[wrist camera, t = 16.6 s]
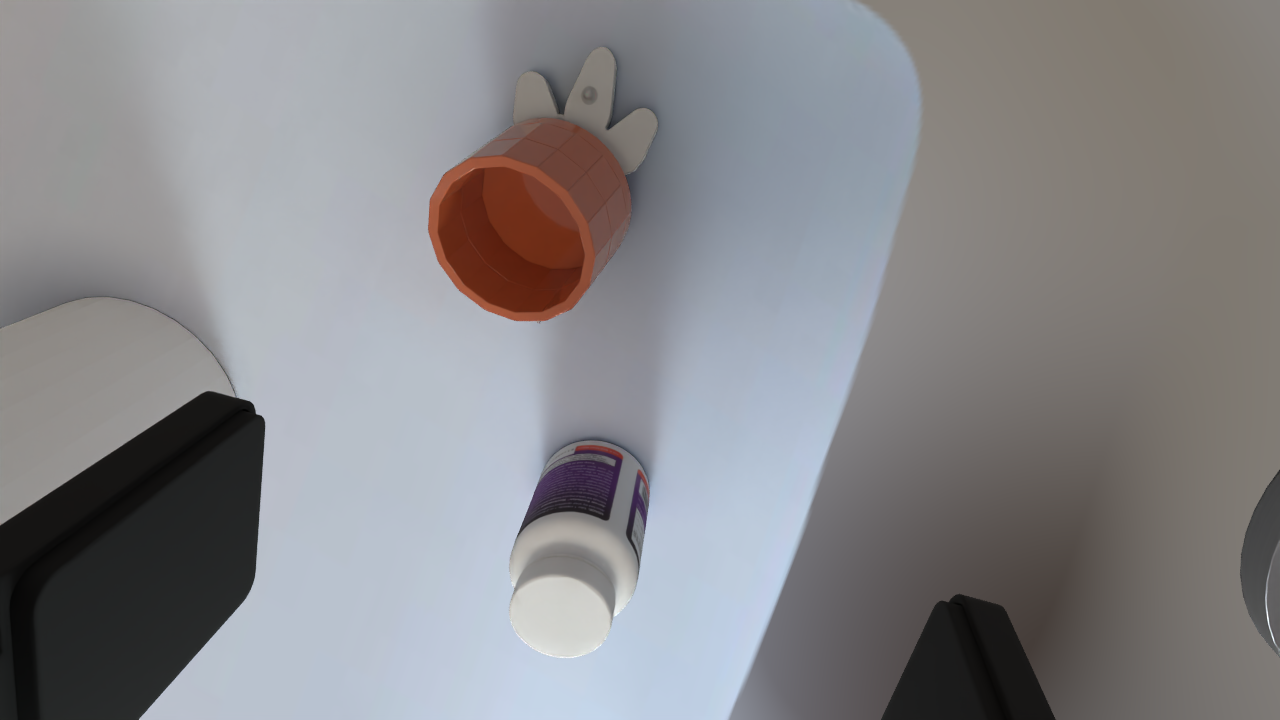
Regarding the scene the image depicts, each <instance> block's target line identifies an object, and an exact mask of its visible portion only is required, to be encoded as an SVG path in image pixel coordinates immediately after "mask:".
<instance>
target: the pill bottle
mask: <svg viewBox="0 0 1280 720" xmlns="http://www.w3.org/2000/svg"><path fill="white" fill-rule="evenodd" d="M649 494H650V490H649V483H648V479H647V476H646V474H645V472H644V470H643V468H642V466H641V465H640V464H639V462H638V461H637V460H636V459H635V458H634V457H633V456H632V455H631V454H630V453H628V452H627V451H625V450H624V449H622V448H620V447H618V446H616V445H613V444H610V443H607V442H602V441H594V440H589V441H580V442H576V443H573V444H570V445H568V446H566V447H564V448H562V449H561V450H559V451H558V452H557V453H556V454H555V455H553V456H552V458H551V459H550V460H549V461H548V463H547V464H546V466H545V468H544V470H543V472H542V474H541V476H540V479H539V482H538V484H537V487H536V490H535V492H534V495H533V498H532V500H531V503H530V505H529V508H528V510H527V513H526V516H525V518H524V521H523V523H522V526H521V528H520V530H519V533H518V535H517V538H516V540H515V543H514V546H513V549H512V552H511V556H510V564H509V571H510V578H511V582H512V585H513V587H514V592H513V595H512V598H511V601H510V607H509V615H510V621H511V624H512V627H513V629H514V630H515V632H516V633H517V635H518V636H519V637H520V638H521V639H522V640H523V642H524V643H526V644H527V645H528V646H530V647H531V648H533V649H534V650H536V651H538V652H540V653H543V654H545V655H548V656H553V657H558V658H574V657H579V656H583V655H586V654H588V653H590V652H592V651H594V650H595V649H597V648H598V647H599V646H600V645H601V644H602V643H603V642H604V641H605V639H606V638H607V636H608V634H609V632H610V629H611V625H612V620H613V617H614V616H616V615H617V614H618V613H620V612H621V611H622V610H623V609H624V608H625V606H626V605H627V604H628V602H629V601H630V599H631V598H632V596H633V594H634V591H635V588H636V584H637V580H638V575H639V568H640V561H641V555H642V548H643V541H644V534H645V527H646V520H647V513H648V506H649Z"/></svg>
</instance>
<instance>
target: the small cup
mask: <svg viewBox="0 0 1280 720" xmlns="http://www.w3.org/2000/svg"><path fill="white" fill-rule="evenodd" d="M630 219H631V195H630V190H629V186H628V182H627V179H626V177H625V174H624V172H623V170H622V168H621V166H620V164H619V162H618V161H617V159H616V158H615V157H614V155H613V154H612V152H611V151H610V150H609V149H608V148H607V147H606V146H605V145H604V144H603V143H602V142H601V141H600V140H599V139H598V138H597V137H595V136H594V135H593V134H591V133H590V132H588V131H587V130H585V129H583V128H581V127H580V126H578V125H575V124H573V123H570V122H567V121H564V120H560V119H554V118H534V119H528V120H525V121H522V122H519V123H517V124H515V125H513V126H511V127H509V128H508V129H506V130H505V131H504V132H502V133H501V134H499V135H498V136H496V137H495V138H493V139H491V140H490V141H488V142H487V143H486V144H484V145H483V146H482V147H480V148H479V149H477V150H476V151H475V152H473V153H472V154H471V155H469V156H468V157H466V158H465V159H464V160H462V161H461V162H460V163H458V164H457V165H455V166H454V167H453V168H451V169H450V170H449V171H447V172H446V173H445V174H444V175H443V177H442V179H441V180H440V182H439V184H438V186H437V188H436V189H435V191H434V193H433V195H432V197H431V198H430V206H429V223H428V230H429V231H428V232H429V235H430V238H431V241H432V245H433V248H434V251H435V254H436V257H437V260H438V262H439V264H440V265H441V267H442V268H443V269H444V271H445V272H446V274H447V275H448V276H449V278H450V279H451V280H452V282H453V283H454V285H455V286H456V287H457V289H459V291H461V292H462V293H463V294H465V295H466V296H467V297H468V298H470V299H471V300H472V301H474V302H475V303H476V304H478V305H479V306H480V307H482V308H483V309H484V310H486V311H489V312H492V313H494V314H497V315H500V316H503V317H506V318H508V319H511V320H514V321H546V320H549V319H551V318H553V317H556V316H558V315H560V314H562V313H564V312H567V311H569V310H571V309H572V308H573V307H574V306H575V305H576V303H577V302H578V301H579V300H580V298H581V297H582V296H583V295H584V293H585V292H586V291H587V290H588V288H589V287H590V286H591V284H592V283H593V282H594V280H595V279H596V278H597V276H598V275H599V273H600V272H601V271H602V269H603V268H604V267H605V265H606V264H607V263H608V261H609V260H610V259H611V257H612V256H613V255H614V253H615V252H616V250H617V249H618V248H619V246H620V244H621V243H622V241H623V239H624V237H625V235H626V233H627V231H628V227H629V224H630Z"/></svg>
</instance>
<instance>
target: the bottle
mask: <svg viewBox="0 0 1280 720" xmlns="http://www.w3.org/2000/svg"><path fill="white" fill-rule="evenodd" d="M206 391H213V392H217V393H221V394H224V395H228V396H232V397H235V398H236V396H235V393H234V391H233V389H232V386H231V384H230V382H229V380H228V378H227V376H226V374H225V372H224V371H223V369H222V368H221V366H220V365H219V363H218V362H217V360H216V359H215V357H214V356H213V355H212V353H211V352H210V351H209V350H208V349H207V348H206V347H205V346H204V345H203V344H202V343H201V342H200V341H199V340H198V339H197V337H196V336H194V335H193V334H192V333H191V332H189V331H188V330H187V329H185V328H184V327H183V326H181V325H180V324H179V323H178V322H176V321H175V320H173V319H171V318H169V317H168V316H166V315H164V314H162V313H160V312H159V311H157V310H155V309H153V308H150V307H147V306H144V305H141V304H139V303H136V302H133V301H129V300H123V299H117V298H111V297H90V298H83V299H79V300H75V301H71V302H67V303H65V304H62V305H60V306H57V307H54V308H52V309H49V310H47V311H44V312H42V313H39V314H36V315H34V316H31V317H29V318H26V319H24V320H21V321H19V322H16V323H13V324H11V325H8V326H6V327H3V328H1V329H0V525H1V524H3V523H4V522H6V521H7V520H9V519H11V518H12V517H14V516H15V515H17V514H18V513H20V512H21V511H23V510H24V509H26V508H27V507H29V506H30V505H32V504H33V503H35V502H36V501H38V500H40V499H41V498H43V497H44V496H46V495H47V494H49V493H50V492H52V491H53V490H55V489H56V488H58V487H59V486H61V485H62V484H64V483H65V482H67V481H69V480H70V479H72V478H73V477H75V476H76V475H78V474H79V473H81V472H82V471H84V470H85V469H87V468H88V467H90V466H91V465H93V464H94V463H96V462H98V461H99V460H101V459H102V458H104V457H105V456H107V455H108V454H110V453H111V452H113V451H114V450H116V449H117V448H119V447H120V446H122V445H124V444H125V443H127V442H128V441H130V440H131V439H133V438H134V437H136V436H137V435H139V434H140V433H142V432H143V431H145V430H146V429H148V428H149V427H151V426H153V425H154V424H156V423H157V422H159V421H160V420H162V419H163V418H165V417H166V416H168V415H169V414H171V413H172V412H174V411H175V410H177V409H178V408H180V407H182V406H183V405H185V404H186V403H188V402H189V401H191V400H192V399H194V398H195V397H197V396H198V395H200V394H201V393H204V392H206Z"/></svg>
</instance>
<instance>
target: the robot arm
mask: <svg viewBox="0 0 1280 720" xmlns="http://www.w3.org/2000/svg"><path fill="white" fill-rule="evenodd" d="M264 437H265V421H264V418H263V417H262V416H261V415H257V414H256V411H255V408H254V405H253V404H252V403H251V402H250V401H246V400H243V399H239V398H235V397H232V396H228V395H224V394H221V393H217V392H213V391H206V392H204V393H201V394H200V395H198V396H197V397H195V398H194V399H192V400H191V401H189V402H188V403H186V404H185V405H183V406H182V407H180V408H178V409H177V410H175V411H174V412H172V413H171V414H169V415H168V416H166V417H165V418H163V419H162V420H160V421H159V422H157V423H156V424H154V425H153V426H151V427H149V428H148V429H146V430H145V431H143V432H142V433H140V434H139V435H137V436H136V437H134V438H133V439H131V440H130V441H128V442H127V443H125V444H124V445H122V446H120V447H119V448H117V449H116V450H114V451H113V452H111V453H110V454H108V455H107V456H105V457H104V458H102V459H101V460H99V461H98V462H96V463H94V464H93V465H91V466H90V467H88V468H87V469H85V470H84V471H82V472H81V473H79V474H78V475H76V476H75V477H73V478H72V479H70V480H69V481H67V482H65V483H64V484H62V485H61V486H59V487H58V488H56V489H55V490H53V491H52V492H50V493H49V494H47V495H46V496H44V497H43V498H41V499H40V500H38V501H36V502H35V503H33V504H32V505H30V506H29V507H27V508H26V509H24V510H23V511H21V512H20V513H18V514H17V515H15V516H14V517H12V518H11V519H9V520H7V521H6V522H4V523H3V524H1V525H0V720H139V718H140V717H141V716H142V715H143V714H144V713H145V712H146V711H147V709H148V708H149V707H150V706H151V705H152V704H153V703H154V702H155V700H156V699H157V698H158V697H159V696H160V695H161V694H162V693H163V691H164V690H165V689H166V688H167V687H168V686H169V685H170V684H171V682H172V681H173V680H174V679H175V678H176V677H177V676H178V675H179V673H180V672H181V671H182V670H183V669H184V668H185V667H186V666H187V664H188V663H189V662H190V661H191V660H192V659H193V658H194V657H195V655H196V654H197V653H198V652H199V651H200V650H201V649H202V648H203V646H204V645H205V644H206V643H207V642H208V641H209V640H210V639H211V637H212V636H213V635H214V634H215V633H216V632H217V631H218V630H219V628H220V627H221V626H222V625H223V624H224V623H225V622H226V621H227V619H228V618H229V617H230V616H231V615H232V614H233V613H234V612H235V610H236V609H237V608H238V607H239V606H240V605H241V604H242V602H243V601H244V600H245V599H246V597H247V595H248V594H249V592H250V590H251V587H252V585H253V582H254V578H255V572H256V557H257V542H258V527H259V512H260V497H261V482H262V467H263V452H264ZM881 720H1055V717H1054V715H1053V713H1052V711H1051V709H1050V707H1049V704H1048V702H1047V700H1046V698H1045V695H1044V693H1043V691H1042V689H1041V687H1040V685H1039V682H1038V680H1037V678H1036V676H1035V674H1034V671H1033V669H1032V667H1031V665H1030V663H1029V661H1028V658H1027V656H1026V654H1025V652H1024V650H1023V647H1022V645H1021V643H1020V641H1019V639H1018V636H1017V634H1016V632H1015V630H1014V628H1013V625H1012V623H1011V621H1010V619H1009V617H1008V615H1007V612H1006V611H1005V609H1004V608H1003V607H1002V606H1000V605H998V604H994V603H991V602H987V601H983V600H980V599H976V598H972V597H969V596H964V595H961V594H958V595H955V596H954V597H953V598H951V600H950V601H949V602H945V601H939V602H938V603H937V604H936V605H935V607H934V609H933V610H932V613H931V615H930V617H929V619H928V621H927V623H926V625H925V627H924V629H923V632H922V634H921V636H920V638H919V640H918V642H917V644H916V646H915V649H914V651H913V653H912V655H911V657H910V659H909V662H908V663H907V666H906V668H905V670H904V672H903V674H902V676H901V678H900V681H899V683H898V685H897V687H896V689H895V691H894V693H893V695H892V697H891V700H890V702H889V704H888V706H887V708H886V710H885V712H884V714H883V717H882V719H881Z"/></svg>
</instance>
